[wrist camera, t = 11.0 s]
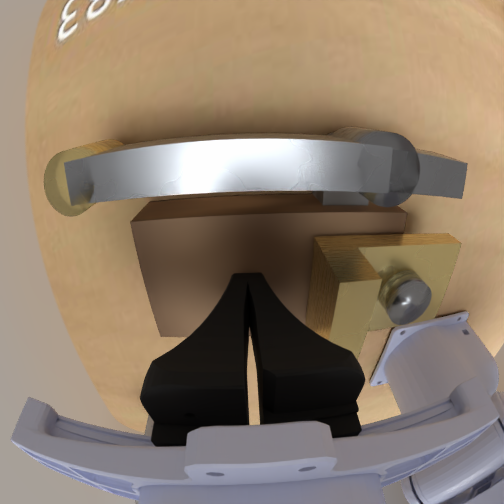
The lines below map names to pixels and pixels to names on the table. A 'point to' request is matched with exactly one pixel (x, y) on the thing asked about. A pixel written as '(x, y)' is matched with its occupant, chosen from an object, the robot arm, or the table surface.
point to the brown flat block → (242, 247)
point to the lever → (251, 168)
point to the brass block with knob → (376, 283)
